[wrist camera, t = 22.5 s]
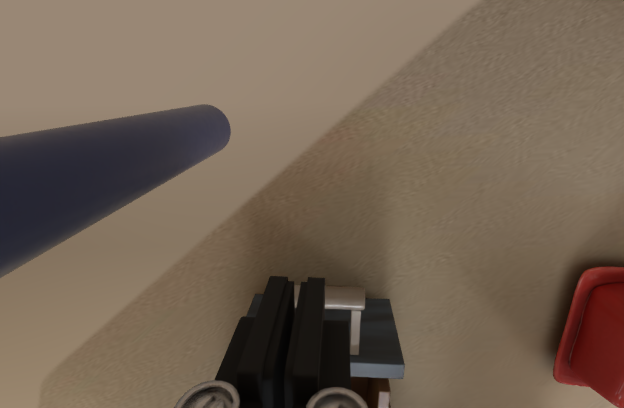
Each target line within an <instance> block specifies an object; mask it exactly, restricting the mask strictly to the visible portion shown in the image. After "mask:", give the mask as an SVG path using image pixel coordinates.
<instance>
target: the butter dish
mask: <svg viewBox="0 0 624 408" xmlns="http://www.w3.org/2000/svg"><path fill="white" fill-rule="evenodd" d="M553 376H554V379H555V380H556V381H558V382H560V383H563V384H568V385H578V386H586V387H591V388H592V389H593V390H595V391H596V392H597V393H599V394H600V395H601V396H602V397H604V398H605V399H607V400H608V401H609V402H611V403H612V404H614V405H615V406H617V407H619V408H624V267H610V266H605V267H594V268H590V269H588V270H585V271H584V272H583V274H582V275H581V276H580V279H579V281H578V284H577V286H576V289H575V292H574V295H573V299H572V303H571V307H570V311H569V314H568V318H567V321H566V325H565V328H564V332H563V334H562V338H561V341H560V344H559V348H558V352H557V355H556V358H555V363H554V369H553Z"/></svg>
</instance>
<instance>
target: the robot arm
mask: <svg viewBox="0 0 624 408" xmlns="http://www.w3.org/2000/svg"><path fill="white" fill-rule="evenodd" d="M174 408H368V406H367V404H366V402H365V401H364V400H363V399H362V398H361V397H360V396H359V395H358V394H356V393H355V392H353V391H351V373H350V347H349V323H348V321H338V320H325V278H312V277H308V281H307V282H301V286H300V291H299V296H298V302H297V307H296V312H295V297H294V281H288V277H283V276H270V278H269V281H268V283H267V286H266V289H265V292H264V295H263V298H262V300H261V303H260V306H259V309H258V312H257V314H256V317H244V316H243V317H241V319H240V320H239V323H238V325H237V328H236V330H235V332H234V335H233V337H232V340H231V342H230V344H229V347H228V349H227V351H226V354H225V356H224V359H223V361H222V363H221V366H220V368H219V371H218V373H217V375H216V378H215V380H212V381H207V382H203V383H200V384H198V385H196V386H194V387H192V388H191V389H189V390H188V391H187V392H185V393H184V395H183V396H182V397H181V398H180V399H179V400H178V402H177V403H176V405H175V406H174Z"/></svg>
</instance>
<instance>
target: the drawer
mask: <svg viewBox="0 0 624 408" xmlns="http://www.w3.org/2000/svg"><path fill="white" fill-rule="evenodd" d="M300 286H301V285H294V297H295V312H296V307H297V302H298V296H299V291H300ZM263 295H264V294H255V295H254V298H253V301H252V303H251V306H250V308H249V311H248V313H247V316H246V317H256V314H257V312H258V309H259V306H260V303H261V300H262V298H263ZM325 320H338V321H348V323H349V347H350V373H351V391H353V392H355V393H356V394H358V395H359V396H360V397H361V398H362V399H363V400H364V401H365V402H366V404H367V406H368V408H389V403H390V386H389V380H388V378H391V379H403V377H404V367H405V364H404V360H403V356H402V351H401V347H400V343H399V338H398V334H397V330H396V325H395V321H394V317H393V313H392V308H391V304H390V300H389V299H371V298H365V289H364V287H341V286H325Z"/></svg>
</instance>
